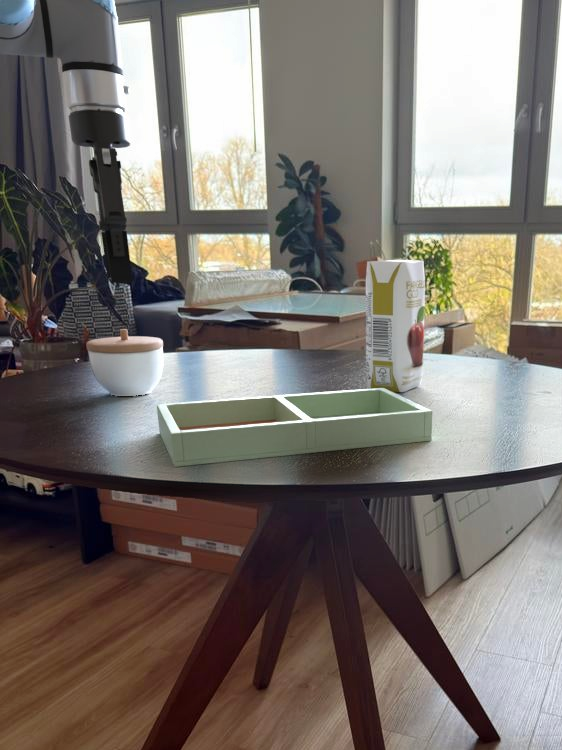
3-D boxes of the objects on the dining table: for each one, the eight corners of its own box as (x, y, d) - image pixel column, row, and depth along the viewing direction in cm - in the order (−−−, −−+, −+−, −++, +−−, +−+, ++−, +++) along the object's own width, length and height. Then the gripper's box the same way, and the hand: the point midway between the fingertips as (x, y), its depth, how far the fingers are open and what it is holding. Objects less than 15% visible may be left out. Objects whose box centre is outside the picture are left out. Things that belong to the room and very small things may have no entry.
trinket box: (182, 389, 112) (176, 327, 109) (138, 402, 103) (130, 335, 99) (125, 384, 115) (117, 324, 112) (77, 397, 106) (67, 331, 103)
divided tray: (174, 467, 74) (171, 433, 72) (159, 432, 87) (156, 404, 85) (431, 440, 84) (432, 411, 82) (383, 413, 97) (383, 387, 96)
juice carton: (360, 390, 112) (359, 260, 105) (385, 381, 119) (385, 259, 112) (404, 394, 109) (406, 261, 102) (427, 385, 116) (430, 260, 109)
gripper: (134, 98, 86) (154, 284, 94) (122, 126, 108) (139, 275, 116) (66, 94, 84) (93, 285, 91) (68, 124, 105) (89, 276, 113)
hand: (119, 280), depth 103 cm, fingers open, 13 cm apart
